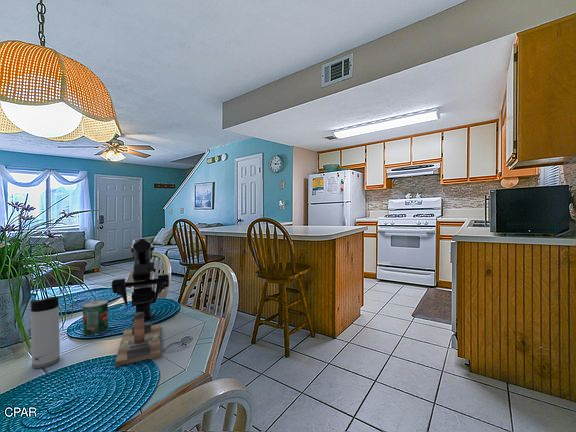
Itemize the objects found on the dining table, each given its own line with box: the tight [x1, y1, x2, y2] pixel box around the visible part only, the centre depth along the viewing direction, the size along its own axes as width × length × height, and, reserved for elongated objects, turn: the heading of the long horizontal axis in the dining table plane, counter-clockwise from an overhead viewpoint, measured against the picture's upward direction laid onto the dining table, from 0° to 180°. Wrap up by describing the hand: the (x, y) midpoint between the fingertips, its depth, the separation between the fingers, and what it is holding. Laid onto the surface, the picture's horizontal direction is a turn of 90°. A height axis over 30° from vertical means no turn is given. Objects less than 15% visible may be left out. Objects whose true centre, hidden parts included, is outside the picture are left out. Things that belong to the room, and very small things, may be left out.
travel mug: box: [30, 296, 61, 369], centre depth 80 cm, size 6×7×20 cm
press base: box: [114, 322, 161, 368], centre depth 91 cm, size 24×12×4 cm, turn 26°
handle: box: [130, 312, 149, 348], centre depth 85 cm, size 5×5×11 cm
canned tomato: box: [82, 299, 109, 336], centre depth 101 cm, size 8×8×11 cm
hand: (141, 303), depth 95 cm, fingers open, 9 cm apart
